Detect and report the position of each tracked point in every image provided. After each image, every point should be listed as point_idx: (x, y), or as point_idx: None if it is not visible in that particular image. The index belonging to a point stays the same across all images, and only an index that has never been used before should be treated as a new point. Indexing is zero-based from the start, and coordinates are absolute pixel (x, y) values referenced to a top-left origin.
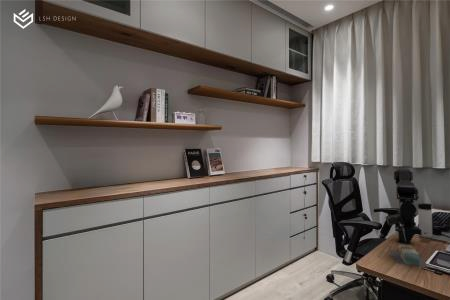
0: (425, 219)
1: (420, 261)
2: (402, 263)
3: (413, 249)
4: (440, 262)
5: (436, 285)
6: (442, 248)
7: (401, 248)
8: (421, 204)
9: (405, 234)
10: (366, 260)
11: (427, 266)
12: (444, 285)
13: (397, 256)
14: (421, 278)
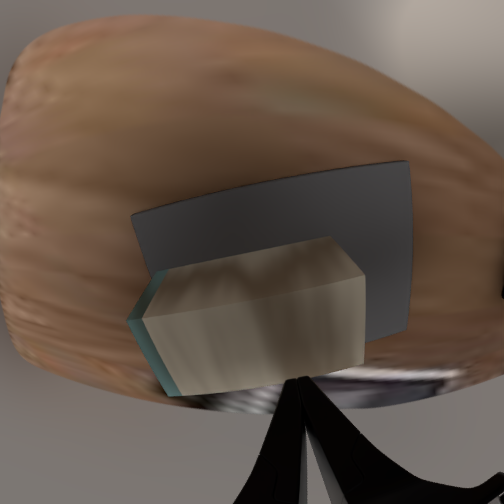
0: None
1: None
2: (149, 254)
3: (279, 378)
4: None
5: (47, 355)
6: (472, 380)
7: (270, 292)
8: None
9: (239, 499)
10: (95, 35)
11: None
12: (69, 377)
13: (285, 220)
14: (56, 322)
